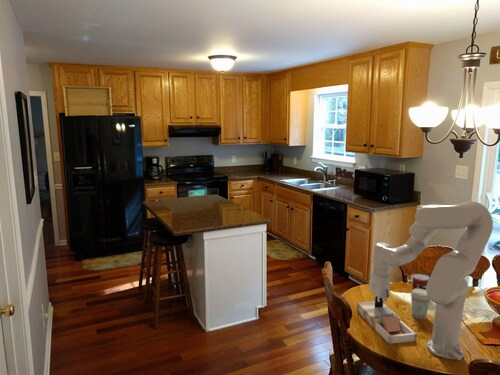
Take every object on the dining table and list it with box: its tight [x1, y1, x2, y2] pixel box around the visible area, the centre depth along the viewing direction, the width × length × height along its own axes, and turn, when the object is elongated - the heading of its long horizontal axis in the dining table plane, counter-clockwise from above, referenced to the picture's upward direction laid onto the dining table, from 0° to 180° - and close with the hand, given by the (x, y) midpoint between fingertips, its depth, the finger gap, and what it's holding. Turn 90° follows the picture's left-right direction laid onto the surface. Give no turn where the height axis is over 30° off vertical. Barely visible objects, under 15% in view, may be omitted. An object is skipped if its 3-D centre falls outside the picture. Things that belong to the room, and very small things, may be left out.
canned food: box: [411, 273, 430, 291], centre depth 194 cm, size 8×8×11 cm
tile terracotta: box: [382, 315, 402, 333], centre depth 162 cm, size 6×6×2 cm
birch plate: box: [356, 300, 401, 330], centre depth 173 cm, size 16×12×4 cm
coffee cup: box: [410, 289, 431, 320], centre depth 174 cm, size 8×8×12 cm
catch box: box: [374, 319, 417, 344], centre depth 159 cm, size 11×12×3 cm
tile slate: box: [374, 306, 395, 320], centre depth 167 cm, size 6×6×2 cm
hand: (378, 308), depth 172 cm, fingers closed
